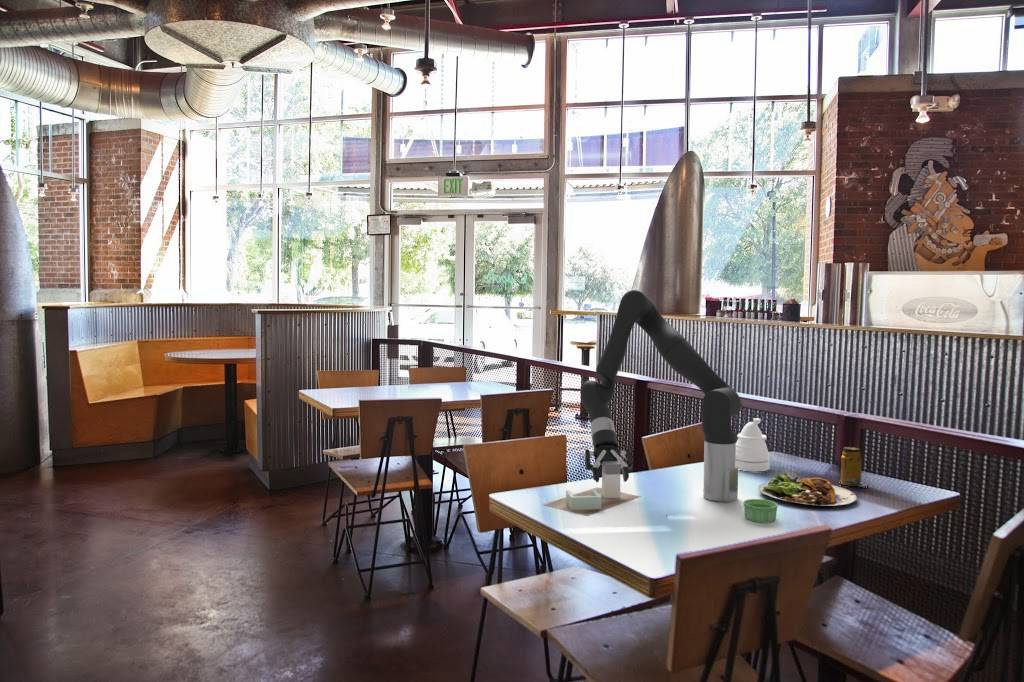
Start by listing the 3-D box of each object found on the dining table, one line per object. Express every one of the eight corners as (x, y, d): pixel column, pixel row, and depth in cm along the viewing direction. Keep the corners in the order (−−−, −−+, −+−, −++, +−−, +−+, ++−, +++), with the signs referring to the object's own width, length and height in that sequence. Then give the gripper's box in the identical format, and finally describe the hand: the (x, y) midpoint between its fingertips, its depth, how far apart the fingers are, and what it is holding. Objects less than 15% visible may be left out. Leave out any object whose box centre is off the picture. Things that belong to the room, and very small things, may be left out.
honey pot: (775, 468, 266) (776, 418, 265) (760, 474, 256) (761, 422, 255) (741, 462, 274) (742, 414, 273) (725, 468, 265) (726, 418, 264)
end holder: (566, 502, 215) (566, 490, 215) (595, 501, 216) (595, 489, 216) (571, 509, 207) (571, 497, 207) (601, 509, 208) (601, 496, 208)
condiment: (840, 481, 247) (841, 445, 247) (868, 484, 243) (869, 447, 243) (838, 485, 241) (839, 449, 240) (867, 489, 237) (868, 451, 236)
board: (640, 500, 222) (640, 496, 222) (587, 520, 202) (587, 515, 202) (596, 491, 232) (596, 487, 232) (542, 508, 212) (542, 504, 212)
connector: (601, 494, 224) (602, 461, 224) (616, 493, 225) (616, 461, 224) (605, 498, 220) (605, 464, 219) (620, 497, 220) (620, 464, 220)
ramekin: (775, 515, 208) (775, 499, 207) (779, 524, 199) (779, 508, 199) (741, 513, 210) (742, 497, 209) (744, 522, 201) (744, 506, 201)
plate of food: (739, 490, 235) (739, 471, 235) (809, 482, 245) (810, 464, 244) (801, 517, 209) (802, 496, 208) (877, 507, 218) (878, 487, 218)
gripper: (583, 428, 228) (590, 474, 218) (628, 428, 230) (637, 473, 219) (579, 442, 234) (586, 487, 223) (623, 441, 235) (632, 486, 225)
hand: (611, 480), depth 221 cm, fingers open, 8 cm apart
